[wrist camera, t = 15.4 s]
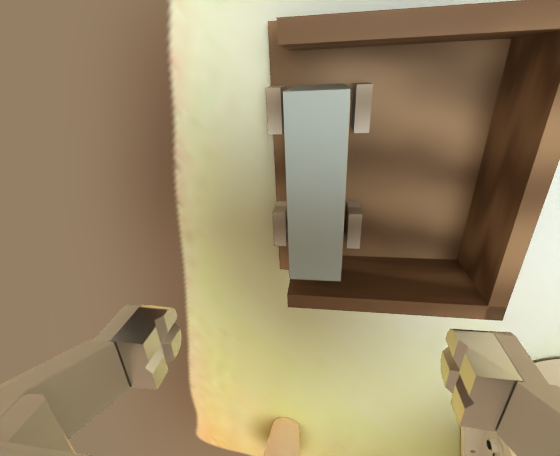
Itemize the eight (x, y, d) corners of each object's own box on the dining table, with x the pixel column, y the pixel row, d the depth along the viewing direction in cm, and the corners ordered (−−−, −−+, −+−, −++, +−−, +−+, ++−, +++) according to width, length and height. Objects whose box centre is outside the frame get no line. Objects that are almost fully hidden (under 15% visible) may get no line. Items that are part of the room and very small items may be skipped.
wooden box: (464, 268, 29) (504, 327, 22) (282, 260, 32) (269, 311, 25) (533, 6, 20) (632, -25, 14) (271, 24, 23) (246, 5, 16)
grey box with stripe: (295, 85, 23) (281, 91, 17) (345, 83, 22) (351, 89, 16) (298, 232, 28) (288, 278, 22) (339, 233, 28) (341, 281, 21)
